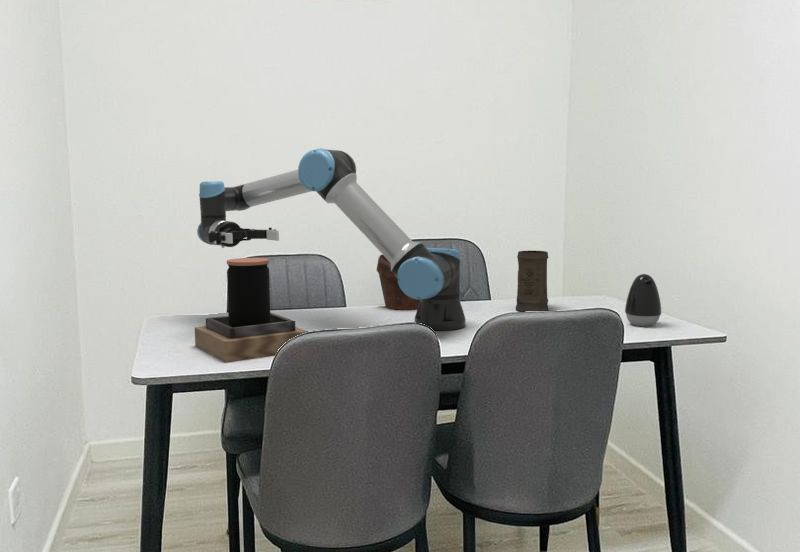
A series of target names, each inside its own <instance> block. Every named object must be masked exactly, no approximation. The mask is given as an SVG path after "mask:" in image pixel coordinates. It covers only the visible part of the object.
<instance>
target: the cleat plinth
mask: <svg viewBox="0 0 800 552" xmlns="http://www.w3.org/2000/svg"><path fill="white" fill-rule="evenodd" d="M270 321H271V323H268V324H259V325H251V326H242V327H234V328H233V327H230V326H229V316H228V315H225V316H224V315H223V316H214V317H207V318H205V325H203V326H195V327H194V346H195V347H196V348H199V349H200V350H202V351H203V352H206V353H208V354H210V355H211V356H213V357H215V358H217V359H218V360H221V361H223V362H224V363H230V362H231V363H233V362H238V361H245V360H251V359H258V358H264V357H271V356H273V357H274V356H276V355H275V354H276V353H277V351H278V349H279V348H280V347H281V346H282V345H283V344H284V343H285V342H287V341H288V340H289V339H291V338H293V337H295V336H297V335H300V334H302V333H305V332H308V333H309V331H308V330H305V329H302V328H300V327H297V326H296V320H293V319H290V318H287V317H285V316H282V315H279V314H275V313H273V312H270Z"/></svg>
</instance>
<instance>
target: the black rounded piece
mask: <svg viewBox="0 0 800 552" xmlns="http://www.w3.org/2000/svg"><path fill="white" fill-rule="evenodd" d="M626 298H627V299H626V303H625V307H624V308H625V309H624V313H625V315H626V318H627V319H626V320H627V321H628V322H629V323H630V324H632V325H633V326H636V327H644V328H645V327H652V326H654V325H656V324H657V322H659V320H660V316H661V315H662V303H661V297H660V293H659V290H658V286H657V284H656V282H655V280H654V278H653V276H651V275H650V274H647V273H642V274H639V275H637V276H636V277H635V278H634V279H633V281H632V283H631V286H630V288H629V290H628V293H627V297H626Z"/></svg>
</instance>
